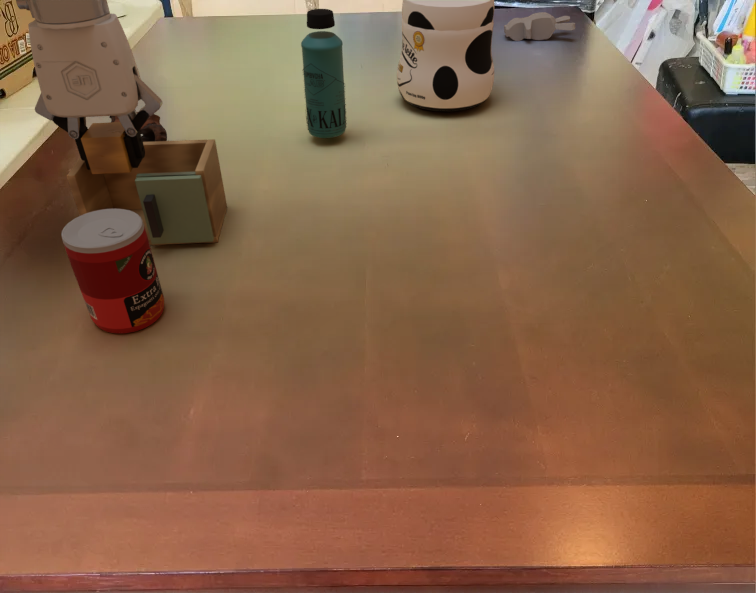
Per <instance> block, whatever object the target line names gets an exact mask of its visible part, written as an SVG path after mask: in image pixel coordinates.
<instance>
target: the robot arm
mask: <svg viewBox="0 0 756 593" xmlns="http://www.w3.org/2000/svg"><path fill="white" fill-rule="evenodd" d="M15 3H16V7H17V8H18V9H19V10H26V11H29V12H30V14H31V18H33V19H34V20H33V21H31V22H29V23H28V37H29V43H30V49H31V55H32V61H33V65H34V70H35V74H36V78H37V82H38V86H39V89H40V94H39V97H38V99H37V101H36V104H35V107H34V111H35V113H36V114H37V115H40V116H41V117H43V118H45V119H47V120H49V121H52V122H53V124H55V125H56V126H57V127H59V128H60V129H62V130H63V131H65V132H66V133H67V135H68V136H69V137H70V138H71V139H73V140H74V141H75V144H76V148H77V151H78V154H79V158H80V157H81V159H82V161H85V164H86V167H87V169H88V170H91V169H90V166H89V163H88V160H87V157H86V154H85V150H84V147H83V144H82V141H81V138H82V136H83V135H84V134H85V132H86V131H87V130H88V129H89V127H87V118H92V117H93V118H95V117H109V116H117V117H118V119H119V121H120V122H121V124H122V126H123V128H124V130H125V133H126V136H125V137H124V142H125V146H126V150H127V153H128V157H129V160H130V164H131V167H132V168H138V166H139V164H140V163H141V161H142V159H143V158H144V157H145V149H144V145H143V141H142V137H141V136H142V134H141V133H140V129H141V127H142V126H143V125H144V123H145V122H146V121H147V119H148V118H150V117H151V116H152V115H153V114H156V113H157V112H158V111H159V110H160V109H161V107H162V105H163V104H164V103H163V100H162V98H161V97H159V95H158V94H156V92H154V90H152V89H151V88H150V87H149V86H148V85H147V84H146V83H145V82H144V81H143V80H142V78H141V75H140V72H139V68H138V65H137V62H136V59H135V56H134V53H133V51H132V48H131V45H130V43H129V40H128V38H127V34H126V32H125V30H124V28H123V26H122V24H121V22H120V19H119V18H118V16H117V14H116V13H111V10H110V7H109V4H108V3H109V2H108V0H15ZM141 100H142V102H143V103H144V106H142V107H141V108H140V109H139V110H138V111H137V110H136V108H137V107H138V104H139V101H141ZM137 112H138V113H137Z"/></svg>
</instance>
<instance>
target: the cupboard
mask: <svg viewBox="0 0 756 593" xmlns="http://www.w3.org/2000/svg"><path fill="white" fill-rule="evenodd" d="M143 145H144V149H145V157H144V158H143V159H142V161H141V163H140V164H139V166H138V168H133V169H132V170H131V172H130V173H110V174H92V172H91V170H88V169H87V167H86V164H85V161H82V159H81V157H80V156H79V158H78V159H77V160H76V162H75V164H74V165H73V166H72V168H71V169H70V170H69V172H68V173H67V174H66V180H67V182H68V185H69V188H70V191H71V194H72V198H73V200H74V203H75V206H76V209H77V212H78V215H79V216H81V215H83V214H86V213H89V212H93V211H97V210H103V209H125V210H130V211H132V212H135V213H136V214H138V215H139V216H140V217H141V219H142V221H143V224H144V227H145V230H146V233H147V237H148V240H149V244H150V246H159V245H160V246H161V245H162V246H163V245H166V244H152V243H151V239H150V235H149V232H148V228H147V224H146V221H145V217H144V213H143V209H142V206H141V202H140V198H139V195H138V191H137V187H136V184H135V179H136V178H141V177H167V176H193V175H201V177H202V182H203V187H204V192H205V197H206V202H207V207H208V212H209V216H210V221H211V226H212V231H213V236H214V240H213V242H194V243H193V244H210V243H219V239H220V235H221V232H222V228H223V224H224V221H225V217H226V213H227V210H228V203H227V198H226V193H225V187H224V180H223V175H222V171H221V164H220V161H219V153H218V148H217V142H216V139H187V140H186V139H185V140H184V139H183V140H167V141H155V142H143ZM186 244H190V243H170V244H169V245H186Z"/></svg>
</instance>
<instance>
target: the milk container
mask: <svg viewBox="0 0 756 593" xmlns="http://www.w3.org/2000/svg"><path fill="white" fill-rule="evenodd" d="M494 15H495V0H402V3H401V52H400V56H399V60H398V64H397V69H396V83H397V90H398V93H399V94H400V96H401V98H402V99H403V100H404V101H405V102H407V104H409V105H411V106H413V107H416V108H419V109H422V110H425V111H433V112H457V111H465V110H469V109H472V108H475V107H478V106H480V105H481V104H483V103H484V102H485V101H487V100H488V99H489V97H490V96H491V93H492V90H493V87H494V81H495V64H494V59H493V52H492V43H493V42H492V41H493V32H494V25H495V24H494V22H495V21H494Z"/></svg>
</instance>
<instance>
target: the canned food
mask: <svg viewBox="0 0 756 593" xmlns="http://www.w3.org/2000/svg"><path fill="white" fill-rule="evenodd" d="M60 236H61V239H62V243H63V246H64V250H65V252H66V256H67V258H68V260H69V263H70V266H71V269H72V271H73V274H74V276H75V279H76V282H77V285H78V288H79V290H80V293H81V296H82V298H83V301H84V303H85V304H84V305H85V306H86V309H87V311H88V314H89V317H90V319H91V320H92V322H93V323H94V324H95V325H96V326H97V327H98V329H100V330H101V331H104V332H107V333H111V334H129V333H135V332H138V331H141V330H143V329H146V328H148V327H150V326H152V325H153V324H154V323H155V322H157V321H158V320H159V319H160V318H161V316H162V314H163V312H164V310H165V297H164V294H163V290H162V289H163V288H162V286H161V282H160V277H159V274H158V271H157V267H156V264H155V259H154V256H153V252H152V248H151V245H150V244H149V240H148V237H147V233H146V230H145V227H144V224H143V221H142V219H141V217H140V216H139V215H138V214H136V213H135V212H132V211H130V210H125V209H103V210H97V211H93V212H89V213H86V214H83V215H81V216H80V215H79V216H77V217H75V218H73V219H72V220H70V221H69V222H68V223H66V224H65V226H64V227H63V229H62V230H61V235H60Z"/></svg>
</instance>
